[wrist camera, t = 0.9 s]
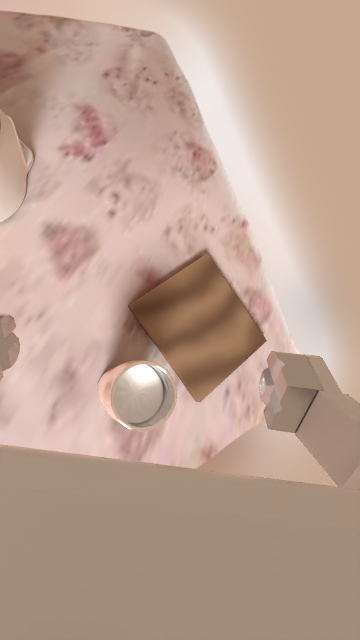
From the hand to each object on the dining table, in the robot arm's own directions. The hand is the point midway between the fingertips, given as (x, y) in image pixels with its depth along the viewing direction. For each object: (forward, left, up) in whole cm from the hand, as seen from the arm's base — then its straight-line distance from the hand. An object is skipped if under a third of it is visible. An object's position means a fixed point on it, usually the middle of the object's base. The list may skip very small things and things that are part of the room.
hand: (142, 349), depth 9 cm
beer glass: (+5, +2, -34) cm, 35 cm away
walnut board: (+5, +18, -34) cm, 39 cm away
